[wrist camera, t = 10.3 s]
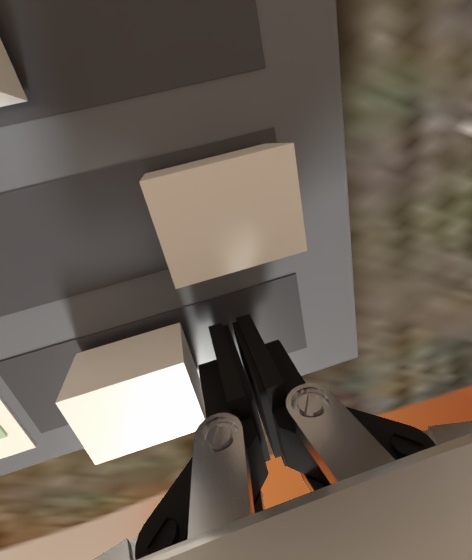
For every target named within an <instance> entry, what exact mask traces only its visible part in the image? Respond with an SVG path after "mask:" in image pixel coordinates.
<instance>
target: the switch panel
mask: <svg viewBox="0 0 472 560" xmlns="http://www.w3.org/2000/svg"><path fill="white" fill-rule="evenodd" d="M0 39H1V41H2V43H3V45H4V48H5V50H6V52H7V54H8V57H9V59H10V61H11V63H12V66H13V68H14V70H15V72H16V75H17V77H18V79H19V82H20V84H21V86H22V88H23V91H24V93H25V95H26V97H27V100H28V101H26V102H22V103H17V104H12V105H8V106H3V107H0V476H2V475H5V474H8V473H11V472H14V471H17V470H20V469H23V468H26V467H29V466H32V465H35V464H38V463H41V462H44V461H47V460H50V459H53V458H56V457H59V456H62V455H65V454H68V453H71V452H74V451H77V450H80V449H83V448H84V447H83V445H82V444H81V442H80V441H79V439H78V438H77V436H76V434H75V433H74V431H73V430H72V428H71V427H70V425H69V424H68V422H67V420H66V419H65V417H64V416H63V414H62V413H61V411H60V410H59V408H58V407H57V405H56V403H55V402H56V400H57V398H58V395H59V393H60V390H61V388H62V386H63V383H64V381H65V379H66V376H67V374H68V372H69V369H70V367H71V364H72V362H73V360H74V357H75V355H76V354H77V353H80V352H83V351H87V350H90V349H93V348H96V347H100V346H103V345H106V344H110V343H113V342H116V341H120V340H123V339H126V338H130V337H133V336H136V335H140V334H143V333H146V332H149V331H153V330H156V329H159V328H163V327H166V326H169V325H173V324H176V323H179V322H180V324H181V327H182V329H183V332H184V335H185V338H186V341H187V344H188V346H189V349H190V352H191V355H192V358H193V361H194V363H195V366H196V369H197V372H198V375H199V369H198V365H200V364H204V363H207V362H210V361H213V360H216V356H215V352H214V348H213V344H212V340H211V336H210V332H209V328H208V327H209V326H212V325H215V324H218V323H222V326H224V325H227V324H228V326H229V329H230V332H231V335H232V337H233V340H234V343H235V346H236V348H237V351H238V354H239V357H240V359H241V356H240V352H239V348H238V345H237V341H236V337H235V333H234V330H233V326H232V323H234V322H237V321H236V318H238V317H241V316H244V315H247V314H250V316H251V318H252V320H253V322H254V324H255V326H256V328H257V330H258V332H259V334H260V336H261V338H262V340H263V341H264V343H265V344H266V343H269V342H272V341H275V340H279V341H280V342H281V344H282V345H283V347H284V349H285V350H286V352H287V353H288V355H289V357H290V358H291V360H292V362H293V363H294V365H295V367H296V368H297V370H298V372H299V373H300V375H301V376H302V375H305V374H308V373H311V372H314V371H317V370H320V369H323V368H326V367H329V366H332V365H335V364H338V363H341V362H344V361H347V360H350V359H353V358H356V357H358V351H357V334H356V318H355V302H354V286H353V269H352V253H351V237H350V221H349V204H348V188H347V172H346V156H345V140H344V123H343V107H342V91H341V75H340V58H339V42H338V26H337V10H336V0H0ZM265 143H294V148H295V156H296V164H297V172H298V180H299V187H300V195H301V203H302V211H303V219H304V227H305V235H306V243H307V251H305V252H302V253H299V254H295V255H292V256H288V257H285V258H281V259H278V260H275V261H271V262H268V263H264V264H261V265H257V266H254V267H250V268H247V269H244V270H240V271H237V272H233V273H230V274H226V275H223V276H219V277H216V278H213V279H209V280H206V281H202V282H199V283H195V284H192V285H188V286H185V287H182V288H178V289H176V288H175V285H174V283H173V280H172V277H171V274H170V271H169V268H168V265H167V262H166V259H165V256H164V253H163V250H162V247H161V244H160V241H159V239H158V236H157V233H156V230H155V227H154V224H153V221H152V218H151V215H150V212H149V209H148V206H147V203H146V200H145V197H144V194H143V192H142V189H141V186H140V183H139V181H140V180H141V178H142V177H143V176H144V174H145V173H149V172H153V171H157V170H161V169H165V168H169V167H173V166H177V165H181V164H185V163H189V162H193V161H197V160H201V159H205V158H209V157H213V156H217V155H221V154H225V153H229V152H233V151H237V150H241V149H245V148H249V147H253V146H257V145H261V144H265ZM241 362H242V359H241ZM242 365H243V363H242ZM199 378H200V375H199ZM203 401H204V400H203ZM204 407H205V406H204Z"/></svg>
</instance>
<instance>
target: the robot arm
mask: <svg viewBox="0 0 472 560" xmlns="http://www.w3.org/2000/svg"><path fill="white" fill-rule="evenodd" d="M236 321H237V322H234V323H232V326H233V330H234V333H235V337H236V341H237V345H238V348H239V352H240V356H241V359H242V362H241V359H240V357H239V354H238V351H237V348H236V346H235V343H234V340H233V337H232V335H231V332H230V329H229V326H228V324H227V325H224V326H222V323H218V324H215V325H212V326H209V327H208V328H209V332H210V336H211V340H212V344H213V348H214V352H215V356H216V360H213V361H210V362H207V363H204V364H200V365H198V369H199V375H200V381H201V388H202V394H203V400H204V406H205V413H206V419H205V420H204V421H203V422H202V423H201V424H200V425H199V426H198V428H197V430H196V432H195V436H194V444H193V457H192V458H191V460H190V461H189V462H188V464H187V465H186V467H185V468H184V469H183V471H182V472H181V474H180V475H179V476H178V478H177V479H176V481H175V482H174V483H173V485H172V486H171V488H170V489H169V490H168V492H167V493H166V495H165V496H164V498H163V499H162V500H161V502H160V503H159V504H158V506H157V507H156V509H155V510H154V511H153V513H152V514H151V516H150V517H149V518H148V520H147V521H146V523H145V524H144V526H143V527H142V530H141V531H140V533H139V535H138V537H136V538H134V539H133V540H131V541H130V542H129V540H128V539H127V538H126V539H125V540H123V541H122V542H120V543H119V544H117V545H116V546H114V547H112V548H111V549H109V550H108V551H106V552H105V553H103V554H101V555H100V556H98V557H97V558H95V559H94V560H472V421H469V422H461V423H452V424H444V425H435V426H428V430H427V431H421V430H419V429H417V428H414V427H412V426H409V425H405V424H402V423H399V422H395V421H392V420H389V419H385V418H382V417H379V416H375V415H372V414H368V413H365V412H362V411H358V410H355V409H351V408H348V407H345V406H344V405H343V404H342V403H341V402H340V401H339V400H338V399H337V398H336V397H335V396H334V395H333V393H332V392H331V391H329V390H328V389H327V388H326V387H324V386H321V385H319V384H313V383H308V384H306V383H305V382H304V380H303V378H302V377H301V375H300V373H299V372H298V370H297V368H296V367H295V365H294V363H293V362H292V360H291V358H290V357H289V355H288V353H287V352H286V350H285V349H284V347H283V345H282V344H281V342H280V341H279V340H275V341H272V342H269V343H266V344H265V343H264V341H263V340H262V338H261V336H260V334H259V332H258V330H257V328H256V326H255V324H254V322H253V320H252V318H251V316H250V314H247V315H244V316H241V317H238V318H236ZM242 363H243V365H242ZM256 406H257V407H256ZM257 409H258V411H257ZM258 412H259V414H260V417H261V420H262V423H263V425H264V428H265V431H266V434H267V437H268V439H269V442H270V445H271V448H272V450H273V453H274V456H275V458H277V457H280V456H281V457H282V460H283V462H284V465H285V466H288V467H290V468H292V469H295V470H297V471H299V472H300V474H301V477H302V479H303V481H304V483H305V484H306V486H307V488H308V489H309V491H310V493H308V494H305V495H302V496H300V497H297V498H294V499H292V500H289V501H287V502H284V503H281V504H279V505H276V506H274V507H271V508H268V509H265V506H264V499H263V493H262V490H261V487H262V486H263V484H264V481H265V480H266V478H267V475H268V470H267V467H266V463H265V462H266V461H269V460H270V456H269V452H268V448H267V444H266V441H265V437H264V433H263V429H262V426H261V422H260V418H259V414H258Z"/></svg>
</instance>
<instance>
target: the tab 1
mask: <svg viewBox="0 0 472 560" xmlns="http://www.w3.org/2000/svg"><path fill="white" fill-rule="evenodd" d="M26 101H28V100H27V97H26V95H25V93H24V91H23V88H22V86H21V84H20V82H19V79H18V77H17V75H16V72H15V70H14V68H13V66H12V63H11V61H10V59H9V57H8V54H7V52H6V50H5V48H4V45H3V43H2V41H1V39H0V107H3V106H8V105H12V104H17V103H22V102H26Z"/></svg>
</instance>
